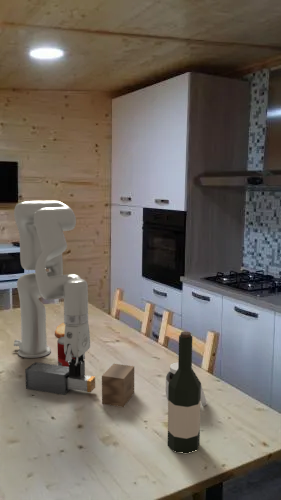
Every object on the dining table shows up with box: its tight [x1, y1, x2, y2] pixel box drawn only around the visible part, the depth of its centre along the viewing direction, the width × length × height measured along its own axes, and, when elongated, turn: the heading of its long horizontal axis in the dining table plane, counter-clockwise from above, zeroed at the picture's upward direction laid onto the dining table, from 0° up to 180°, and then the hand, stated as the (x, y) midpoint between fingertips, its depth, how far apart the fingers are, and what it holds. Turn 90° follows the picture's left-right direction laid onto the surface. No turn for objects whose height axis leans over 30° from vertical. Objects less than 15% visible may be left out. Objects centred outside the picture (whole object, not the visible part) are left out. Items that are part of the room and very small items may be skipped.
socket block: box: [101, 363, 135, 408], centre depth 146 cm, size 7×10×9 cm
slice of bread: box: [54, 322, 65, 339], centre depth 211 cm, size 18×18×4 cm
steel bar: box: [66, 360, 96, 393], centre depth 151 cm, size 20×4×9 cm, turn 72°
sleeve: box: [25, 361, 71, 396], centre depth 153 cm, size 14×6×7 cm, turn 72°
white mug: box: [165, 361, 208, 407], centre depth 143 cm, size 12×11×12 cm
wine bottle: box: [167, 331, 202, 454], centre depth 119 cm, size 8×8×30 cm
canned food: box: [56, 337, 75, 367], centre depth 168 cm, size 8×8×11 cm
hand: (77, 373), depth 150 cm, fingers closed on steel bar, 3 cm apart
